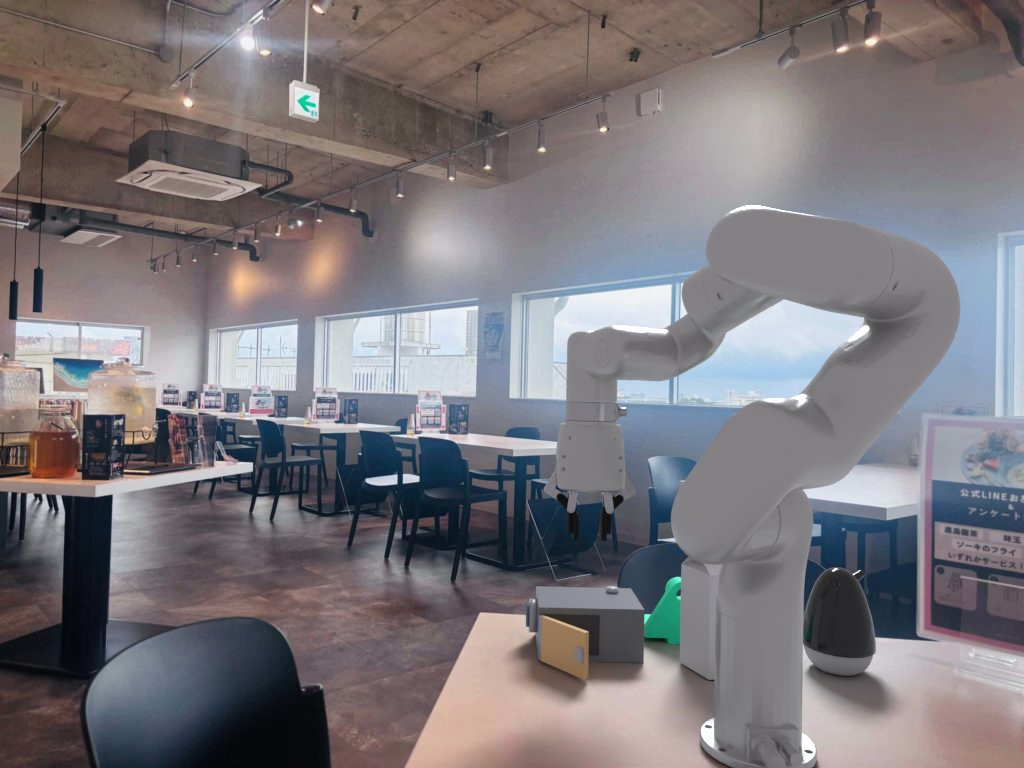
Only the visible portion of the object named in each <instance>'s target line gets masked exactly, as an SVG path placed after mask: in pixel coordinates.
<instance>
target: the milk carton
mask: <svg viewBox="0 0 1024 768" xmlns="http://www.w3.org/2000/svg"><path fill="white" fill-rule="evenodd" d="M687 556H688V555H687ZM721 565H722V564H720V565H713V564H706V563H702V562H699V561H696V560H694V559H692V558H691V557H689V556H688V557H686V558H685V560H684V561H683V562H682V563H681V566H680V567H681V568H680V570H681V571H680V577H681V589H680V596H681V612H680V644H679V663H680V664H682V665H683V666H685V667H686V668H688V669H690V670H691V671H693V672H695V673H696V674H698V675H700V676H701V677H703V678H705V679H706V680H707V681H713V680H715V620H716V589H717V581H718V576H719V572H720V568H721Z"/></svg>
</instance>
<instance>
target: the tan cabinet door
mask: <svg viewBox="0 0 1024 768" xmlns="http://www.w3.org/2000/svg"><path fill="white" fill-rule="evenodd" d="M588 654H589V632H588V631H586V630H583V629H580V628H577V627H575V626H572V625H569V624H566V623H564V622H561V621H558V620H555V619H553V618H550V617H547V616H545V615H539V647H538V657H537V661H538V660H540V662H543V663H546V664H547V665H550V666H552V667H554V668H556V669H559V670H561V671H563V672H566V673H567V674H569V675H572V676H575V677H577V678H579V679H582V680H587V679H589V662H588Z"/></svg>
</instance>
